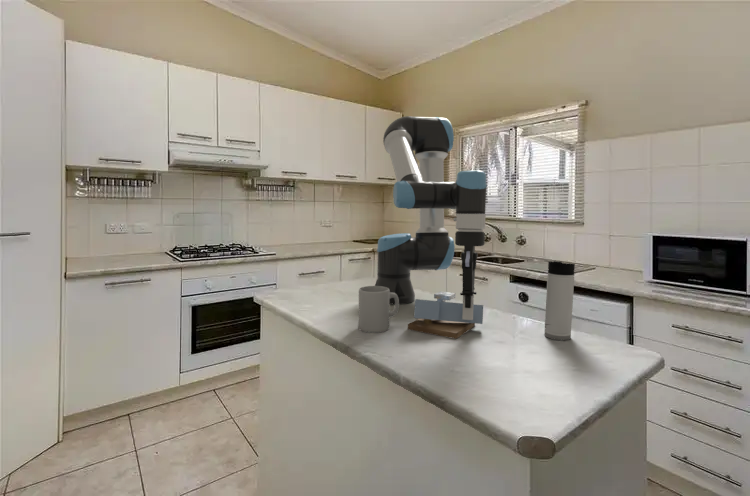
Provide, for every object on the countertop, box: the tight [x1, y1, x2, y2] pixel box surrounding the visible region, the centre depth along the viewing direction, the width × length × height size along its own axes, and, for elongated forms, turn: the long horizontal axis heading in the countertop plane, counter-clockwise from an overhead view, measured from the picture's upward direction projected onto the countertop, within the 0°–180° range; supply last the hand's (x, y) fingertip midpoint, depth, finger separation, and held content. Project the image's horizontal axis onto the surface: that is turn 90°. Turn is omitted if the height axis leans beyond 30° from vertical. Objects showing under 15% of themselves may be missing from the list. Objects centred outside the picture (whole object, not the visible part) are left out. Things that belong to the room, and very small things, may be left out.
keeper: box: [433, 291, 456, 302], centre depth 116 cm, size 5×5×7 cm
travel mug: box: [543, 260, 576, 341], centre depth 105 cm, size 6×7×20 cm
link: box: [413, 298, 484, 325], centre depth 113 cm, size 18×6×5 cm, turn 85°
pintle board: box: [407, 318, 476, 340], centre depth 113 cm, size 14×14×8 cm
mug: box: [357, 285, 400, 334], centre depth 113 cm, size 12×8×11 cm
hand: (467, 319), depth 109 cm, fingers closed
